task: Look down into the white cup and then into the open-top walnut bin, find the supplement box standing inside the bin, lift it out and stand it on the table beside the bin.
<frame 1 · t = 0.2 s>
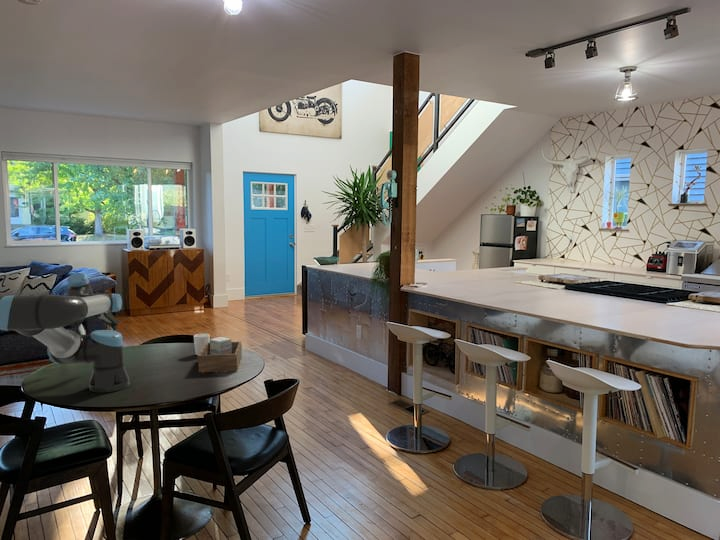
hand: (99, 335, 240), 16 cm above the table, tool tilted 35°, fingers open, 13 cm apart
walnut bin: (221, 364, 246), on the table
white cup: (202, 354, 264), on the table
supplement box: (221, 365, 246), resting in walnut bin
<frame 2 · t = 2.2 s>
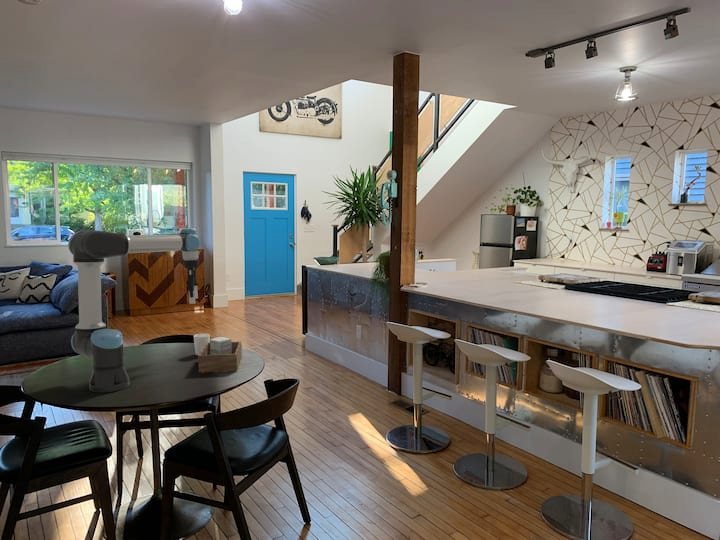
hand: (193, 301, 261), 28 cm above the table, tool pointing down, fingers open, 13 cm apart
nothing on the table moved.
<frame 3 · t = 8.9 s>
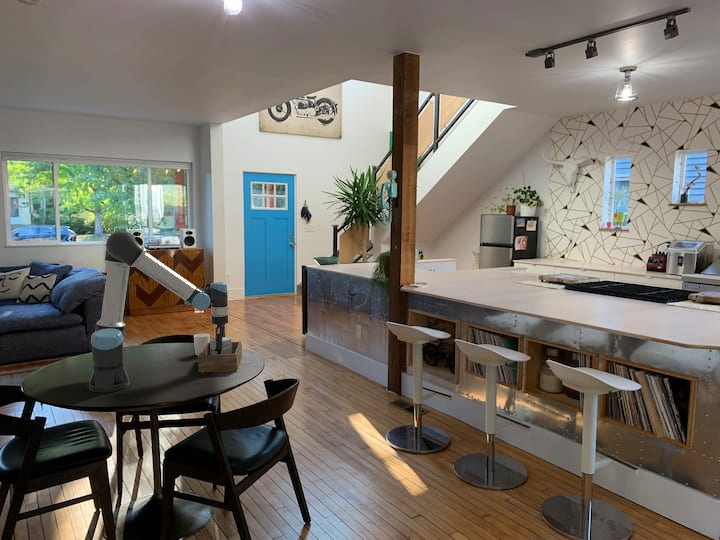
hand: (221, 361, 246), 2 cm above the table, tool pointing down, fingers closed on supplement box, 10 cm apart
supplement box: (221, 365, 246), resting in walnut bin, touching gripper
everything else where it was.
when the fingers open (4 cm above the table, at t = 17.1 s): supplement box drops 2 cm, on the table.
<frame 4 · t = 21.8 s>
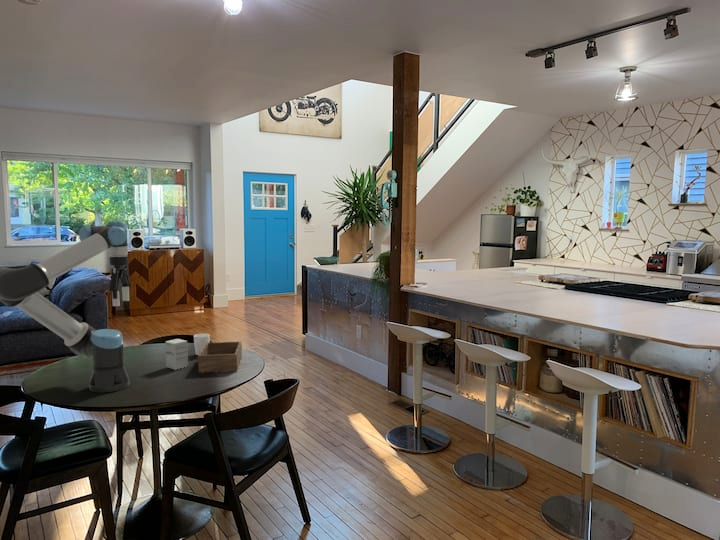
hand: (121, 303, 231), 32 cm above the table, tool pointing down, fingers open, 13 cm apart
supplement box: (177, 367, 242), on the table
everything else where it was.
at the end: supplement box inside the target area (0.1 cm from its centre), on the table; supplement box tilted 0°; white cup moved 0.2 cm from its start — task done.
